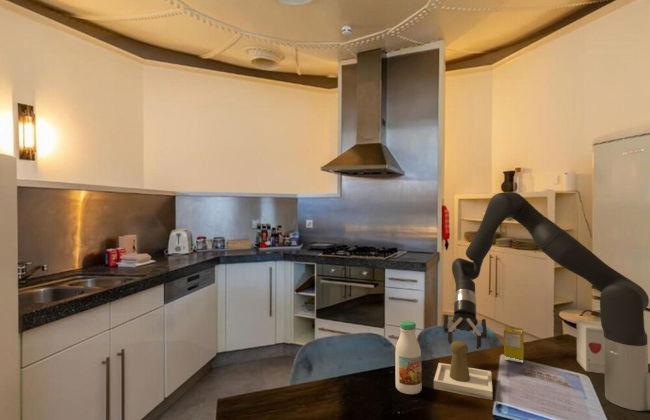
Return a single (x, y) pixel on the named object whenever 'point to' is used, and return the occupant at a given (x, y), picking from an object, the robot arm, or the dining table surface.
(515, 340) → the supplement box
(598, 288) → the robot arm
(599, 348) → the supplement box
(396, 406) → the dining table surface
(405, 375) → the milk bottle
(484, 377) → the tray
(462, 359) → the cork
